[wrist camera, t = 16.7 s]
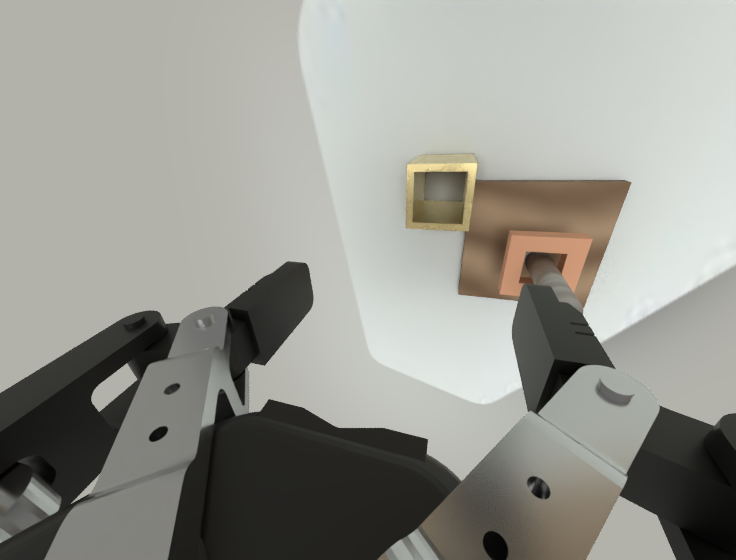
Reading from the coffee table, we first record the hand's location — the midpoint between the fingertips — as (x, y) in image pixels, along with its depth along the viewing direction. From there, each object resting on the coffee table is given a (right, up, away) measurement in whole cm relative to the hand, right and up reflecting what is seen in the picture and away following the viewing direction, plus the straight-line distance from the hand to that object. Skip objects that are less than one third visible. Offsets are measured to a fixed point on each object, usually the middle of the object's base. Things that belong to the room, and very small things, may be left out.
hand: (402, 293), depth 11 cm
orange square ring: (+16, +2, +17) cm, 23 cm away
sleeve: (+7, +12, +21) cm, 25 cm away
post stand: (+17, +5, +22) cm, 28 cm away
